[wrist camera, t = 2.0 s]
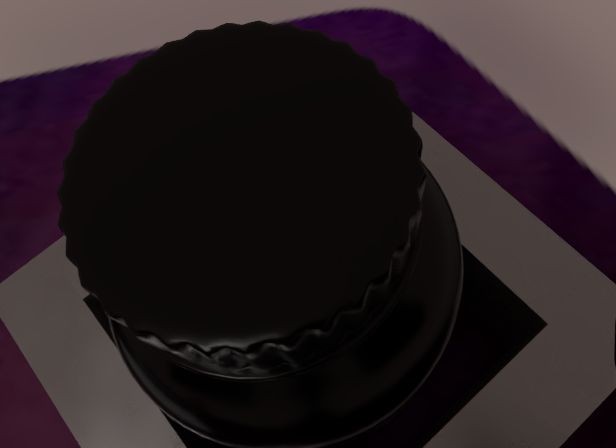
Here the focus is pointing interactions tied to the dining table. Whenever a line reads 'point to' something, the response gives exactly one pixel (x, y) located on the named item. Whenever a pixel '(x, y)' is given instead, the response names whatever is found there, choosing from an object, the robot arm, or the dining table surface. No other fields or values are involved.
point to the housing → (475, 299)
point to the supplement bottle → (264, 237)
